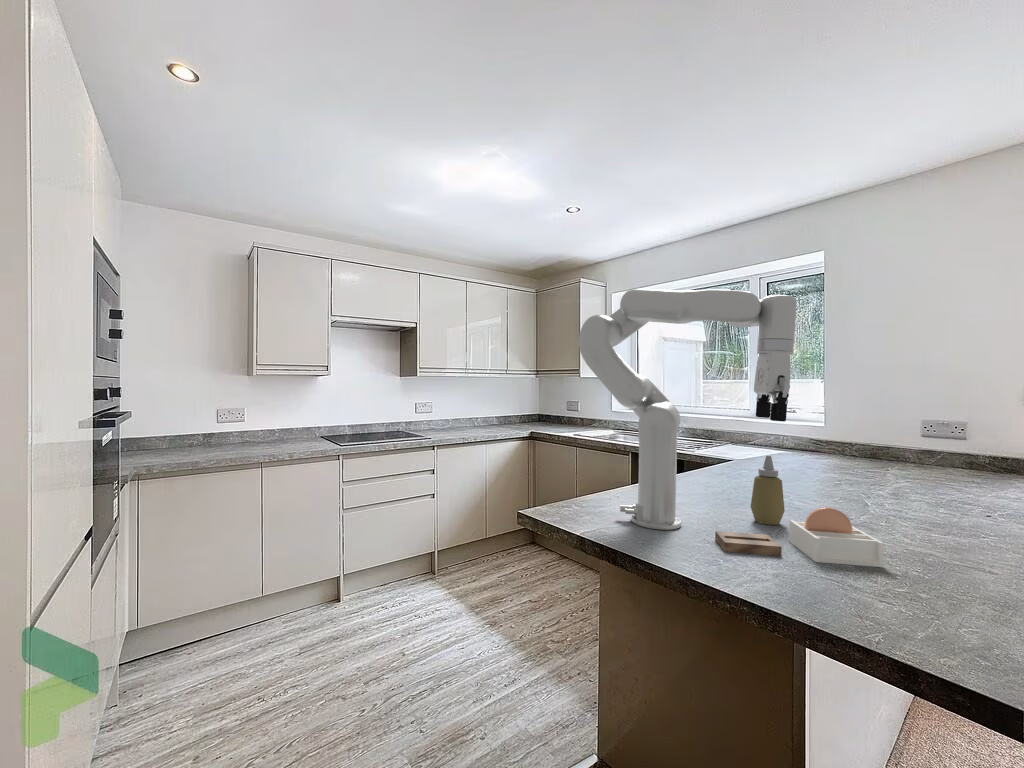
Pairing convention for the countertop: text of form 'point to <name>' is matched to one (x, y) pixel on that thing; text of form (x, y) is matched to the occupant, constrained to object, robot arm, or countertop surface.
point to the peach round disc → (828, 521)
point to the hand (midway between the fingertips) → (770, 419)
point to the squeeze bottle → (767, 495)
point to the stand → (747, 543)
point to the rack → (837, 546)
